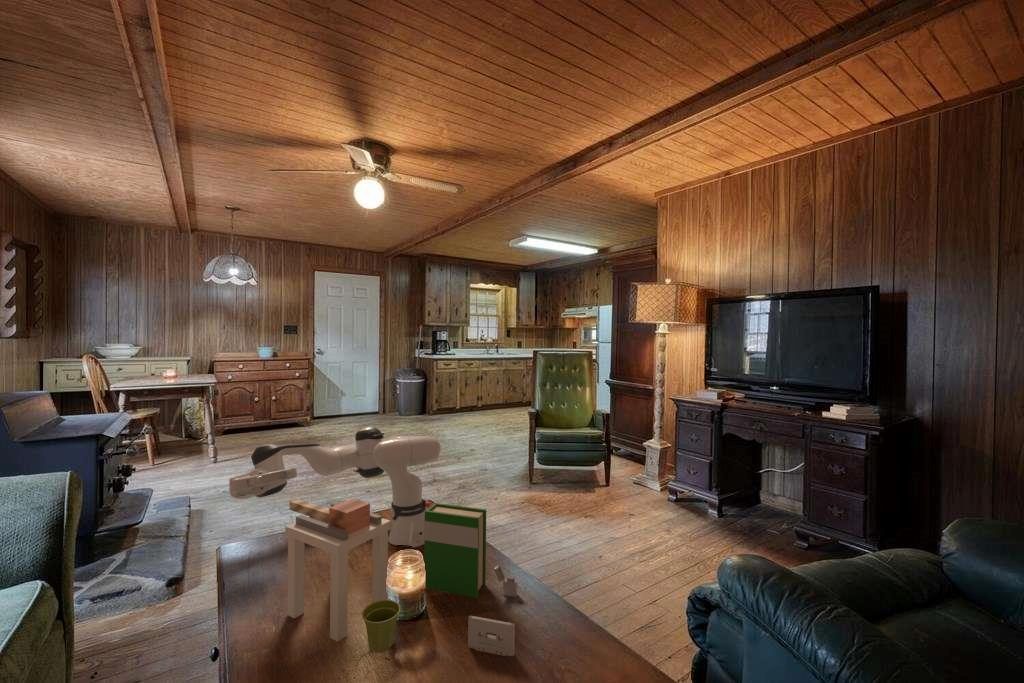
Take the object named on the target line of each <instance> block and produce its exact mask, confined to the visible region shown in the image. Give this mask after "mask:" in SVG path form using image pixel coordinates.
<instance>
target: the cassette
mask: <svg viewBox="0 0 1024 683" xmlns="http://www.w3.org/2000/svg"><path fill="white" fill-rule="evenodd" d="M467 620H468V623H467V626H468V627H467V630H468V631H467V636H468V637H467V639H468V640H467V647H468V648H469V649H474V650H475V651H479V652H484V653H489V654H493V655H499V656H503V657H506V656H509V657H514V656H515V645H516V644H515V642H516V640H515V639H516V638H515V637H516V636H515V635H516V634H515V632H516V625H515V623H514V622H513V623H512V622H507V621H504V620H503V621H502V620H497V619H491V618H485V617H480V616H476V615H475V616H474V615H470V616H468V619H467Z"/></svg>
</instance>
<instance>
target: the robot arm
mask: <svg viewBox="0 0 1024 683" xmlns="http://www.w3.org/2000/svg"><path fill="white" fill-rule="evenodd" d="M384 435H385V433H384V432H381V430H380V429H378V428H376V427H373V426H366V427H363V428H361V429H359V430H358V431H357V432H356V433H355V436H354V440H355V446H354V445H351V444H349V445H346V444H345V445H339V446H334V447H323V446H321V445H320V444H319V443H316V442H315V443H314V442H307V443H306V442H304V443H303V442H302V443H290V444H289V443H286V444H275V443H274V444H267V443H266V444H262V445H260V446H258V447H256V448H255V449H254V450H253V453H252V454H251V456H250V458H251V459H250V460H251V461H252V465H253V466H254V469H253V470H250V471H247V472H246V473H242V474H241V475H238V476H237V475H236V476H234V477H231V478H229V480H228V483H229V485H228V486H229V488H228V489H229V493H230V497H231V498H234V499H235V500H244V499H245V500H246V499H249V498H253V497H257V498H259V499H260V498H265V497H268V496H271V495H275V494H277V493H279V492H281V491H283V490H284V488H286V486H287V484H288V480H292V479H295V478H297V477H298V472H297V471H298V470H297V468H296V467H289V468H285V465H284V464H285V463H284V461H283V460H284V459H283V456H292V455H293V456H294V455H300V456H302V457H303V458H304V459H305V460H306V462H308V464H309V465H310V467H311V468H312V470H313V471H314V472H315V473H317V475H320V476H324V477H327V476H332V475H337V474H338V473H341V472H346V470H349V469H352V468H357V469H356V470H355V473H357V474H359V475H360V476H361V477H363V478H364V479H375V478H377V477H378V478H379V477H380V476H381V475H383V474H384V473H386V475H388V477H389V479H390V483H391V488H392V502H391V508H390V516H391V529H390V530H389V532H388V543H389V544H392V545H393V546H397V545H409V546H412V547H411V548H418V547H421V546H423V545H424V539H425V511H426V510H427V509H428V508H430V507H431V506H432V504H431V502H429V501H428V500H425V499H424V498H423V483H422V480H421V478H420V477H419V476H417V475H416V474H413V473H411V472H408V471H407V470H408V467H415V466H422V465H423V466H424V465H427V464H430V463H433V462H436V461H437V460H438V458H439V457H440V455H441V444H440V442H439V440H438V439H437V438H436V437H435V436H431V435H430V436H429V435H428V436H427V435H411V436H410V435H405V436H399V435H392V436H388V437H386V438H385V437H384ZM409 546H408V547H409Z"/></svg>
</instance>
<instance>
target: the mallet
mask: <svg viewBox="0 0 1024 683" xmlns="http://www.w3.org/2000/svg"><path fill="white" fill-rule="evenodd" d="M288 506H289V510H290V511H293V512H296V513H298V514H301V515H303V516H306V517H313V518H316V519H319V520H322V521H325V522H328V523H329V525H332V526H335V527H338V528H341V529H344V530H346V531H348V535H349V534H351V533H353V532H355V531H357V530H359V529H362V528H364V527H366V526H368V525H370V513H371V504H370V503H369V502H366V501H362V500H359V499H355V498H352V499H349V500H345V501H343V502H342V503H339V504H338V505H335V506H333V507H331V506H330V507H324V506H321V505H317V504H315V503H312V502H309V501H308V502H307V501H305V500H301V499H299V498H295V499H293V500H291V501H289V505H288Z"/></svg>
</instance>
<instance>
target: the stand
mask: <svg viewBox="0 0 1024 683" xmlns="http://www.w3.org/2000/svg"><path fill="white" fill-rule="evenodd" d="M338 504H340V503H339V502H332V503H330V507H333V506H335V505H338ZM391 522H392V520H390V519H386V518H382V515H380V514H376V513H373V512H370V525H368V526H366V527H364V528H362V529H359V530H357V531H355V532H353V533H351V534H349V535H348V531H346V530H344V529H341V528H338V527H335V526H332V525H329V523H328V522H325V521H322V520H319V519H316V518H313V517H310V516H306V515H303V514H301V515H300V514H299V515H298V516H297V515H296V516H295V522H293V523H290V524H288V525H287V524H286V525H285V526H284V529H285V530H284V532H285V533H284V535H285V536H286V537H287V616H288V617H290V618H292V619H296V618H298V617H300V616H301V615H303V614H305V544H307V545H309V546H312V547H314V548H317V549H320V550H322V551H324V552H326V553H327V552H328V553H330V562H329V564H330V568H329V570H330V572H329V574H330V575H329V576H330V577H329V579H330V582H329V586H330V587H329V589H330V590H329V591H330V592H329V596H330V597H329V603H330V604H329V638H330V639H332V640H333V641H335V642H340V641H341V640H342V639H344V638H345V637H347V636H348V611H349V610H348V604H349V602H348V600H349V597H348V596H349V594H348V591H349V590H348V589H349V582H348V581H349V574H348V573H349V572H348V571H349V551H350V550H352V549H354V548H356V547H359V546H360V545H362V544H364V543H366V542H368V541H370V540H372V545H371V546H372V549H371V551H372V552H371V553H372V554H371V555H372V556H371V557H372V558H371V560H372V563H371V565H372V566H371V572H372V573H371V603H373V602H376V601H380V600H388V592H387V593H386V578H387V567H388V566H389V565H388V562H389V561H388V560H389V559H388V558H389V557H388V556H389V553H388V552H389V541H388V537H389V531H390V529H391ZM388 568H389V567H388Z"/></svg>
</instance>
